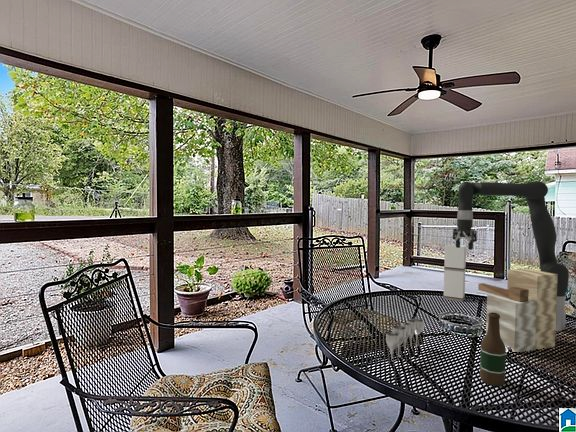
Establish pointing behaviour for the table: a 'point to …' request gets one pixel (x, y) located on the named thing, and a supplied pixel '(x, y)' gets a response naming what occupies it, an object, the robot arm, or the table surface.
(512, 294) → the wooden mallet
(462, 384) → the table surface
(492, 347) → the beer bottle
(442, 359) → the table surface
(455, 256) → the white tall block
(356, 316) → the table surface
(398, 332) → the goblet set
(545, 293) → the step shelf
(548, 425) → the table surface
